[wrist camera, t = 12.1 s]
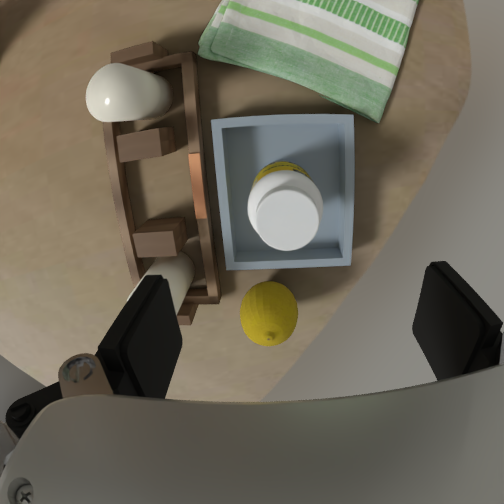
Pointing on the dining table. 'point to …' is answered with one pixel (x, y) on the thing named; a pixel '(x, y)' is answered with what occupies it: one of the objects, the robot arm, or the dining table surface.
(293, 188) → the supplement bottle
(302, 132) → the tray
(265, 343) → the lemon
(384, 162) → the dining table surface
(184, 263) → the cartridge
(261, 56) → the dish towel
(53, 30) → the dining table surface
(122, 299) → the dining table surface
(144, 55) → the clip rack
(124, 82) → the cylinder
